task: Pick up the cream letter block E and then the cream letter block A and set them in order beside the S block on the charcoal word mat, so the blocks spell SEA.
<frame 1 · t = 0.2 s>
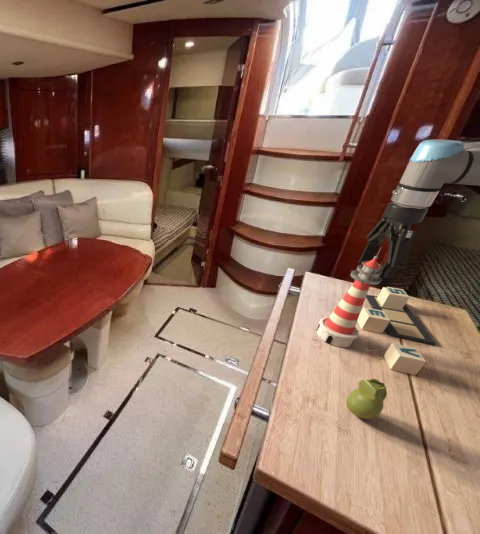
hand: (371, 274, 89), 16 cm above the table, tool pointing down, fingers open, 13 cm apart
word mat: (396, 318, 97), on the table
green rounded piece: (356, 413, 69), on the table
letter S: (388, 303, 102), point 1 cm above the table, touching word mat
letter A: (398, 365, 80), on the table
letter E: (368, 326, 94), on the table
miniature lighthouse: (333, 338, 90), on the table
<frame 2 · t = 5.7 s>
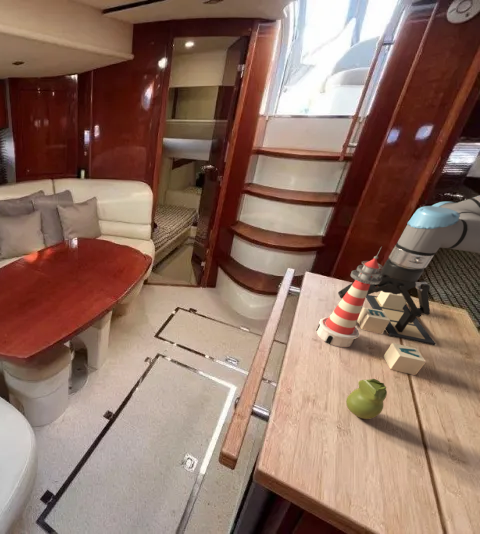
hand: (368, 323, 93), 1 cm above the table, tool pointing down, fingers open, 13 cm apart
nothing on the table moved.
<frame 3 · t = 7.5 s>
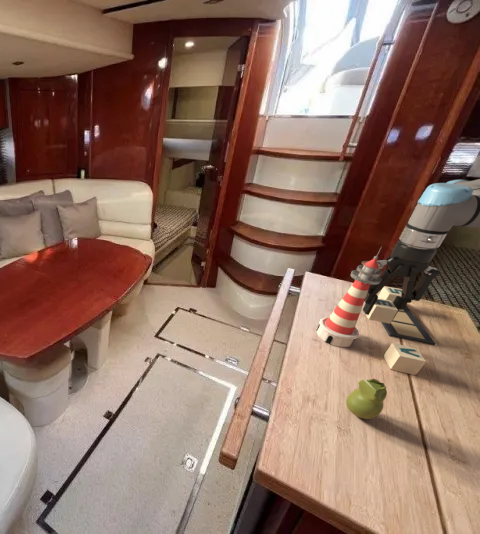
hand: (377, 314, 91), 5 cm above the table, tool pointing down, fingers closed on letter E, 5 cm apart
letter E: (376, 316, 92), point 4 cm above the table, touching gripper
everything else where it was.
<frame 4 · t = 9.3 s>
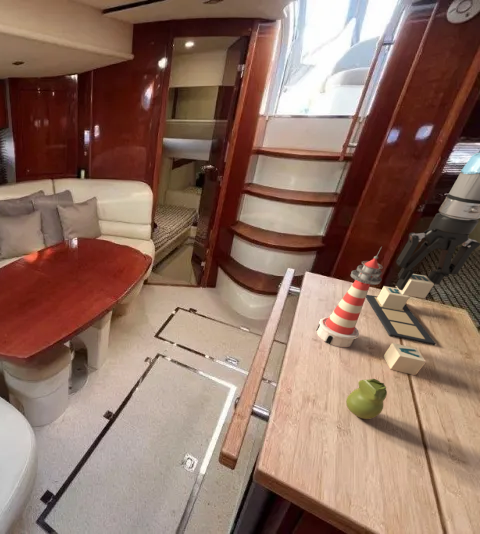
hand: (411, 289, 90), 11 cm above the table, tool pointing down, fingers closed on letter E, 5 cm apart
letter E: (409, 292, 91), point 10 cm above the table, touching gripper
everything else where it was.
when the fingers open (2 cm above the table, at t = 11.4 s): letter E stays where it is, resting on word mat.
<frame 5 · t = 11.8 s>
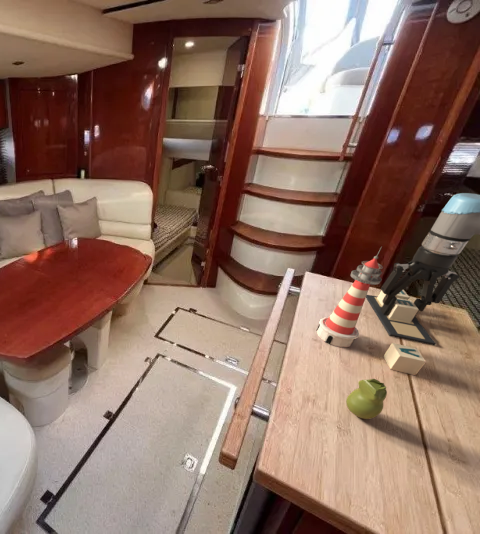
hand: (395, 314, 96), 1 cm above the table, tool pointing down, fingers open, 6 cm apart
letter E: (396, 315, 96), point 1 cm above the table, touching gripper, word mat
everything else where it was.
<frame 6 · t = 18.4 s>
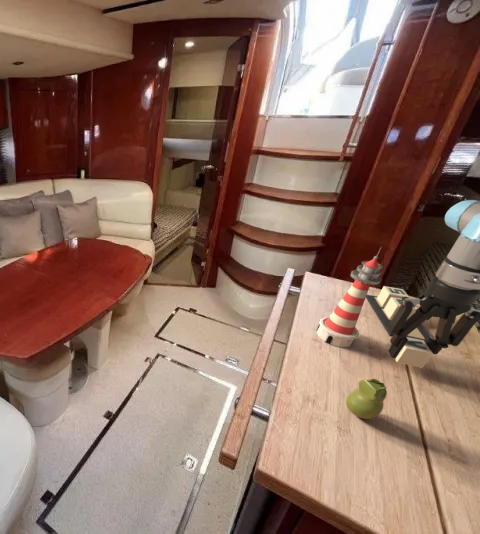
hand: (405, 357, 79), 3 cm above the table, tool pointing down, fingers closed on letter A, 5 cm apart
letter A: (405, 358, 79), point 3 cm above the table, touching gripper
letter E: (396, 315, 96), point 1 cm above the table, touching word mat
everything else where it was.
when the fingers open (1 cm above the table, at t = 23.0 s): letter A stays where it is, resting on word mat.
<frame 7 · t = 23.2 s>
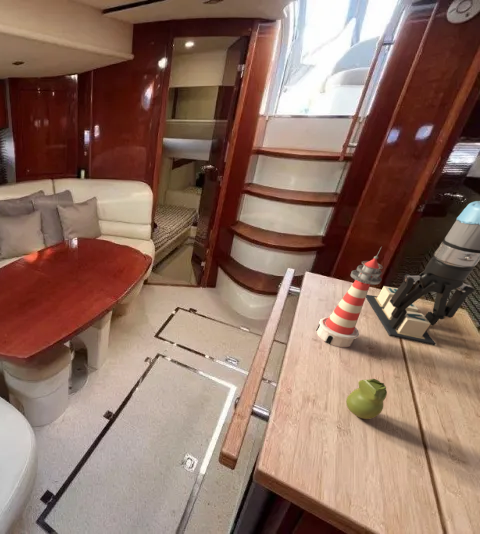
hand: (405, 328, 91), 1 cm above the table, tool pointing down, fingers open, 6 cm apart
letter A: (406, 329, 91), point 1 cm above the table, touching word mat
everything else where it was.
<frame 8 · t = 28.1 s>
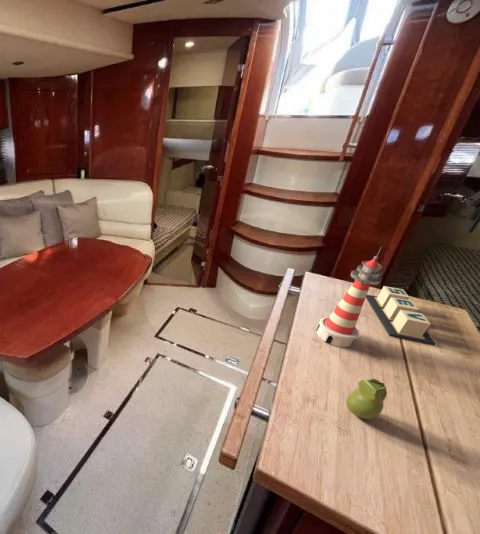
nothing on the table moved.
at the end: letter E 0.2 cm off-centre on the word mat, point 0.9 cm above the word mat's base; letter A 0.2 cm from the target spot on the word mat, point 0.9 cm above the word mat's base; letter S moved 0.0 cm from its start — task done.
